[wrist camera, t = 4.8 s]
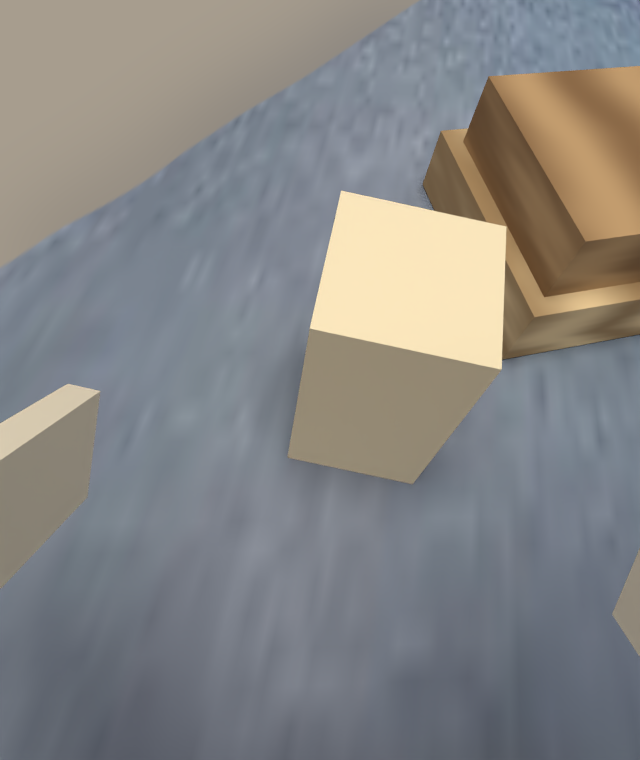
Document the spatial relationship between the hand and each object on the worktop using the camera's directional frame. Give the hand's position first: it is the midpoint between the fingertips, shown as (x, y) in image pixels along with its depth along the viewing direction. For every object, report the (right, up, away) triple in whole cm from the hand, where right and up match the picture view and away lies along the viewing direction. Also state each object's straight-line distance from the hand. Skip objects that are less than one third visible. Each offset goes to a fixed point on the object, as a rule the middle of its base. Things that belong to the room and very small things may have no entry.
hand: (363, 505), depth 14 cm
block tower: (+13, +11, +22) cm, 28 cm away
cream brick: (+1, +1, +15) cm, 15 cm away
